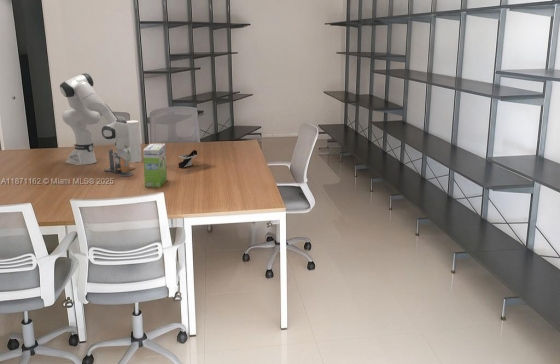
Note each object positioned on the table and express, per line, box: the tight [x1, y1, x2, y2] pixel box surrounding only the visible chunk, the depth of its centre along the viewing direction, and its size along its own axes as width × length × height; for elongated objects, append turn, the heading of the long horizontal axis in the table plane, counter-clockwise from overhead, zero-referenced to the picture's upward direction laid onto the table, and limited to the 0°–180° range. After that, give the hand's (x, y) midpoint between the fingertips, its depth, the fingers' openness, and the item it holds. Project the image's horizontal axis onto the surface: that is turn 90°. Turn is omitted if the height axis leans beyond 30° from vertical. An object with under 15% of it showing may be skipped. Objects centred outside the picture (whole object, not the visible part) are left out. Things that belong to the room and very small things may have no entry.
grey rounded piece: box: [118, 172, 134, 178], centre depth 356 cm, size 9×9×1 cm
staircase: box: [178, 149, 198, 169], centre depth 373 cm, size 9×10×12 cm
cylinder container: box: [125, 119, 143, 163], centre depth 389 cm, size 9×9×30 cm
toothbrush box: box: [142, 143, 168, 188], centre depth 333 cm, size 18×10×24 cm, turn 178°
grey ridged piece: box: [104, 149, 136, 175], centre depth 365 cm, size 15×14×14 cm
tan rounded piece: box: [117, 158, 135, 173], centre depth 354 cm, size 11×6×9 cm, turn 97°
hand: (124, 164), depth 354 cm, fingers closed on tan rounded piece, 6 cm apart
